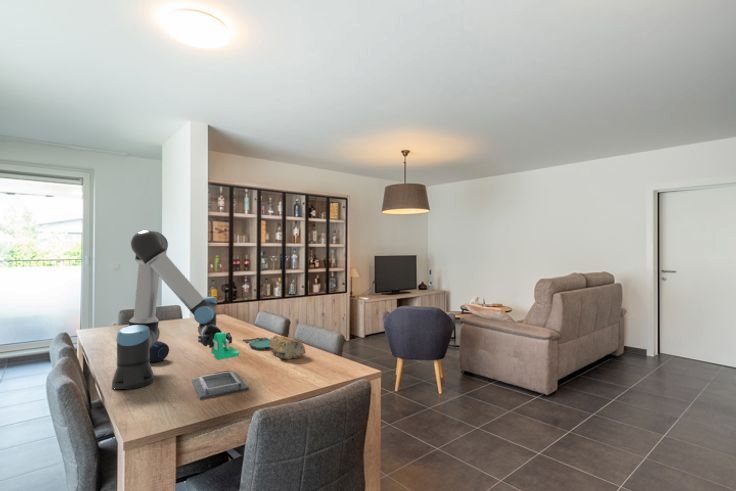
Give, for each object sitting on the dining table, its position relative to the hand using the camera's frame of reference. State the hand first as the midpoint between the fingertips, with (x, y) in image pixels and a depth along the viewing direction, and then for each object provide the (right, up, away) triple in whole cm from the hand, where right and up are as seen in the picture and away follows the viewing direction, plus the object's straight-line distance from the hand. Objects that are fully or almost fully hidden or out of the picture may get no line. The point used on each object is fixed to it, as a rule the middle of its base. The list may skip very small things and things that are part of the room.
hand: (222, 345), depth 151 cm
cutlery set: (-3, -19, +71) cm, 74 cm away
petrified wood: (+15, -18, +48) cm, 53 cm away
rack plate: (-3, -18, +4) cm, 19 cm away
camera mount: (-1, -6, +5) cm, 8 cm away
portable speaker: (-56, -18, +40) cm, 71 cm away
